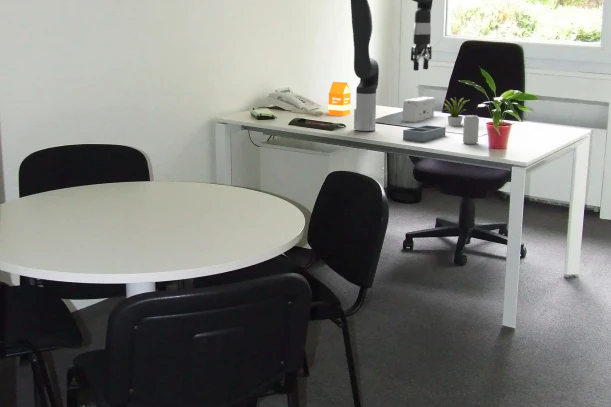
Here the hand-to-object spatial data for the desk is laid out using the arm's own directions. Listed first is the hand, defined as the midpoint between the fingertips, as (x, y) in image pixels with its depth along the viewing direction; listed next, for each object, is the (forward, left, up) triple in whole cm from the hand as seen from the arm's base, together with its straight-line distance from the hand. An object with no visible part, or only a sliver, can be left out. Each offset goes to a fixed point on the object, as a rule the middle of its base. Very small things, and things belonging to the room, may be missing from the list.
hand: (420, 69), depth 359 cm
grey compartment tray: (+6, -5, -30) cm, 31 cm away
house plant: (+4, +30, -30) cm, 43 cm away
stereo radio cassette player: (-19, +33, -30) cm, 49 cm away
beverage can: (+28, -4, -30) cm, 41 cm away
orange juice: (-58, +18, -30) cm, 68 cm away
